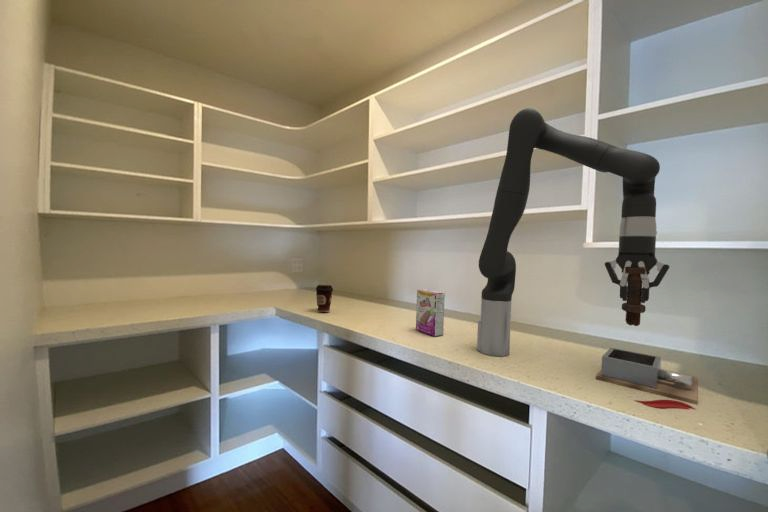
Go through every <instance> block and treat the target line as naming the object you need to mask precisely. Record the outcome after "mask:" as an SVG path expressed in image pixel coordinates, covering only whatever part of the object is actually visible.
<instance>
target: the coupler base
mask: <svg viewBox="0 0 768 512" xmlns="http://www.w3.org/2000/svg"><path fill="white" fill-rule="evenodd" d="M661 370H664V371H669V372H673V373H678V374H683V375H688V376H692V387H690V386H686V391H685V390H681V389H677V388H674V383H672V382H668V381H664V380H659V382H658V385H657V389H653V388H649V387H645V386H641V385H637V384H633V383H629V382H625V381H621V380H617V379H613V378H608V377H604V376H601V371H602V368H601V369H600V370H599V372H597V374H596V375H595V380H597V381H601V382H605V383H609V384H613V385H617V386H621V387H624V388H625V387H626V388H629V389H633V390H635V391H636V390H637V391H640V392H645V393H647V394H648V393H649V394H653V395H656V396H660V397H664V398H665V397H666V398H669V399H671V400H675V401H679V402H683V403H687V404H688V403H689V404H693V405H697V406H698V377H697V376H693V375H690V374H686V373H681V372H676V371H672V370H667V369H662V368H661Z"/></svg>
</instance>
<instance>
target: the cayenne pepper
mask: <svg viewBox="0 0 768 512" xmlns="http://www.w3.org/2000/svg"><path fill="white" fill-rule="evenodd" d="M633 401H634V402H637V403H639V404H642V405H643V406H646V407H650V408H654V409H661V410H662V409H664V410H665V409H680V410H681V409H682V410H689V411H690V410H696V411H697V409H696V408H695V407H693V406H691V405H690V404H688V403H686V402H684V401H680V400H676V399H654V400H637V399H636V400H633Z"/></svg>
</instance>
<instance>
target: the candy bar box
mask: <svg viewBox="0 0 768 512" xmlns="http://www.w3.org/2000/svg"><path fill="white" fill-rule="evenodd" d="M445 295H446V293H445V292H443V291H436V290H431V289H426V288H423V289H417V290H416V316H415V318H416V319H415V322H416V324H415V330H416V331H417V332H421V333H424V334H426V335H429V336H431V337H440V336H443V335H444V325H445V323H444V319H445V315H444V314H445Z"/></svg>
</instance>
